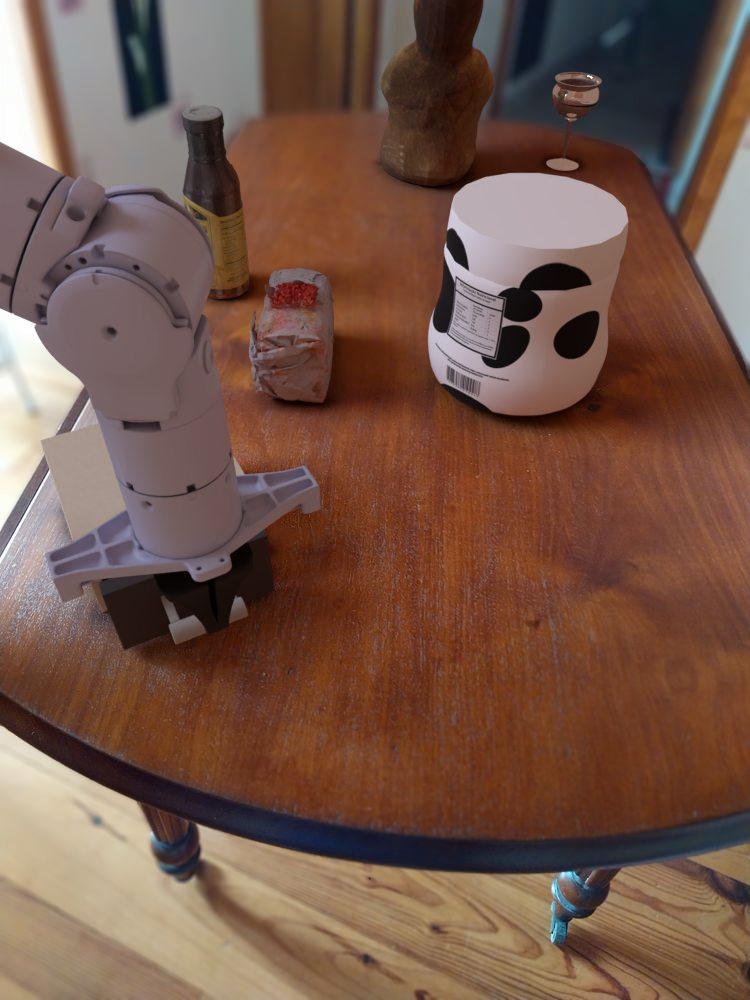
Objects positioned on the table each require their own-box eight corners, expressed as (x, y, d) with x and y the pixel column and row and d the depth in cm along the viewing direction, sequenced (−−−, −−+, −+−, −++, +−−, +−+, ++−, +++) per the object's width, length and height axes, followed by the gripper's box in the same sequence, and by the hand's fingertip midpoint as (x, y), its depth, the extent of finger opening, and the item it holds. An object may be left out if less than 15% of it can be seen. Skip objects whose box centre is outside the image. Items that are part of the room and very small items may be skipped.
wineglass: (534, 157, 119) (548, 72, 110) (575, 154, 119) (591, 71, 111) (548, 174, 114) (564, 87, 105) (591, 171, 115) (609, 85, 106)
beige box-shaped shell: (260, 554, 60) (249, 481, 54) (102, 613, 56) (72, 541, 50) (212, 466, 67) (198, 394, 62) (69, 512, 63) (39, 439, 57)
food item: (334, 412, 73) (331, 324, 66) (252, 412, 73) (240, 324, 66) (336, 334, 83) (334, 250, 76) (264, 334, 82) (254, 250, 75)
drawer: (295, 629, 54) (289, 574, 50) (139, 694, 50) (117, 641, 46) (226, 502, 63) (216, 446, 58) (89, 549, 59) (67, 493, 55)
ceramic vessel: (472, 147, 121) (496, -87, 100) (496, 207, 106) (530, -55, 84) (375, 148, 120) (378, -87, 99) (384, 208, 105) (390, -55, 83)
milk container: (585, 337, 83) (626, 172, 70) (605, 439, 71) (659, 262, 58) (428, 328, 84) (440, 163, 71) (421, 427, 71) (434, 250, 59)
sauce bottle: (192, 281, 90) (160, 103, 76) (242, 271, 92) (220, 95, 78) (207, 308, 86) (177, 125, 72) (259, 297, 88) (240, 116, 74)
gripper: (35, 564, 32) (112, 721, 42) (341, 459, 37) (346, 622, 46) (8, 464, 36) (83, 627, 46) (285, 382, 41) (300, 545, 51)
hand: (213, 619), depth 46 cm, fingers closed
